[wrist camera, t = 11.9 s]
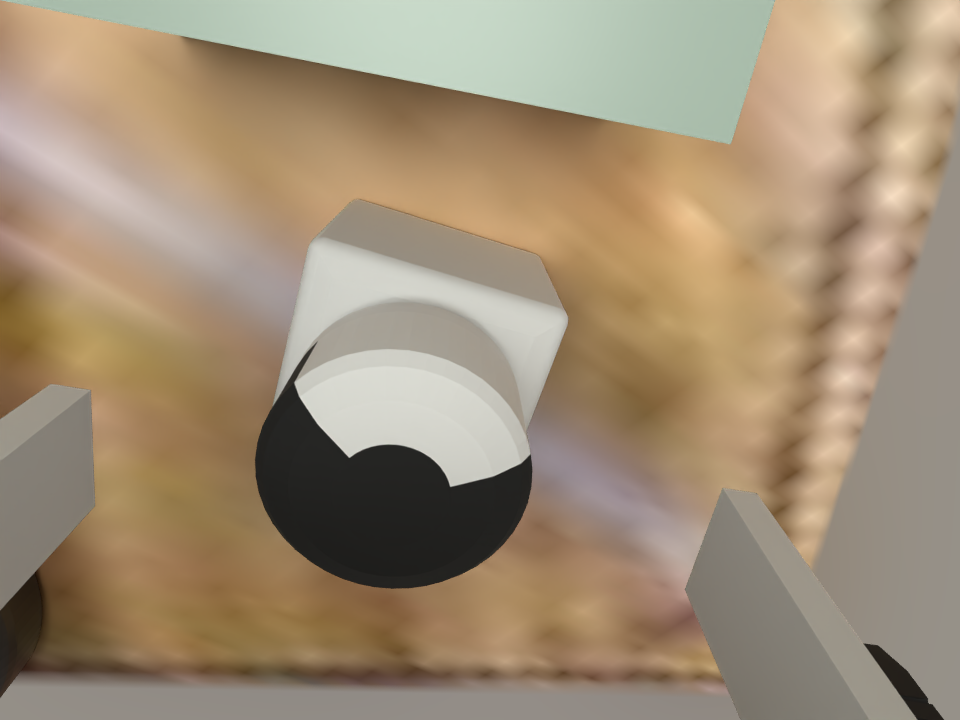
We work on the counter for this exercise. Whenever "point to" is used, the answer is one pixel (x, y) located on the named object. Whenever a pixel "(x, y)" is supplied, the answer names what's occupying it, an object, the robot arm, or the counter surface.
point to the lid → (501, 48)
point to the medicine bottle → (407, 398)
